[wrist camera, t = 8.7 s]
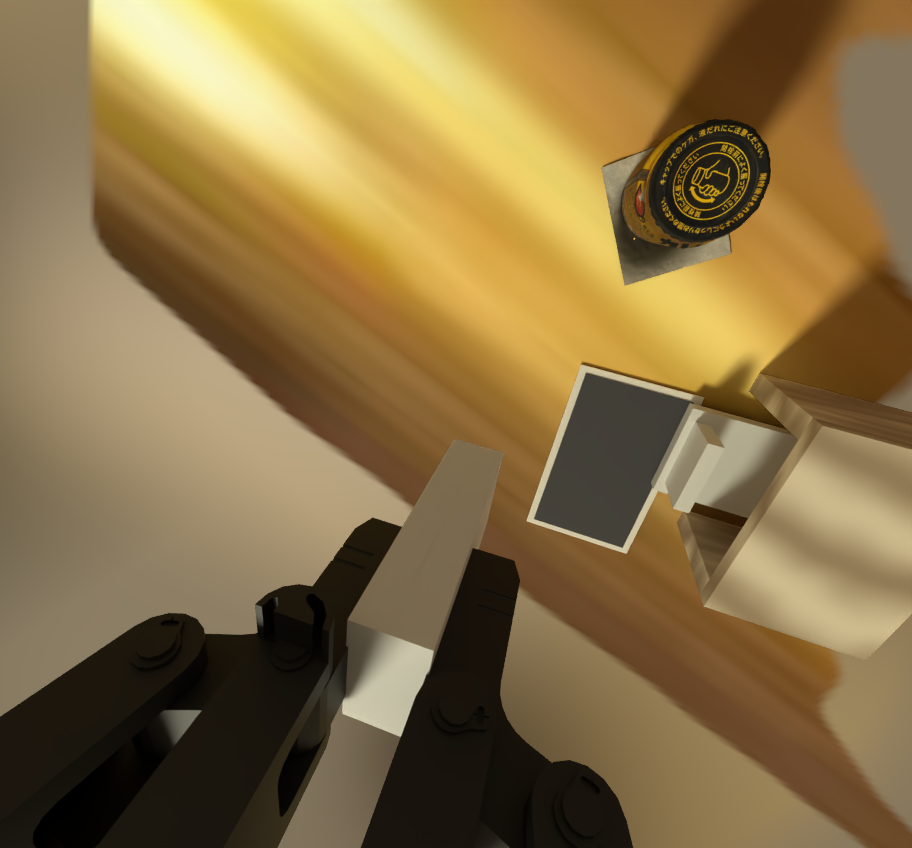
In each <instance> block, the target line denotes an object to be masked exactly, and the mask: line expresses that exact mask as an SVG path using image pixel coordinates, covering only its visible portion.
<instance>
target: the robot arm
mask: <svg viewBox="0 0 912 848" xmlns="http://www.w3.org/2000/svg"><path fill="white" fill-rule="evenodd" d="M503 454H504V452H500V451H496V450H493V449H489V448H485V447H482V446H478V445H474V444H471V443H467V442H464V441H460V440H456V439H454V440H453V442H452V444H451V445H450V447H449V449H448V450H447V452H446V454H445V455H444V457H443V459H442V460H441V462H440V464H439V466H438V467H437V469H436V471H435V472H434V474H433V476H432V477H431V479H430V481H429V483H428V484H427V486H426V488H425V489H424V491H423V493H422V494H421V496H420V498H419V499H418V501H417V503H416V505H415V506H414V508H413V510H412V511H411V513H410V515H409V516H408V518H407V520H406V522H405V523H404V525H403V527H401V526H397V525H394V524H391V523H388V522H385V521H381V520H378V519H375V518H371V519H370V520H368V521H367V522H365V523H363V524H362V525H360V526H358V527H357V528H355V529H354V531H353V532H352V533H351V535H350V536H349V538H348V539H347V540H346V542H345V543H344V545H343V547H341V548H340V550H339V551H338V552H337V554H336V555H335V557H334V559H333V561H331V562H330V563H329V565H328V566H327V568H326V569H325V570H324V571H323V573H322V574H321V576H320V577H319V578H318V580H317V581H316V583H315V584H314V585H313V586H306V585H300V584H298V585H291V586H284V587H281V588H279V589H277V590H274V591H272V592H271V593H268V594H267V595H265V596H264V597H263V598H262V599H261V600H260V601H258V602H257V603H256V604H255V608H256V619H257V628H258V629H257V630H258V633H256V634H247V635H228V634H226V635H225V634H205V633H204V628H203V627H202V625H201V624H200V623H199V621H198V620H197V619H196V618H193V617H191V616H189V615H187V614H178V613H168V614H164V615H160V616H156V617H152V618H150V619H148V620H146V621H144V622H142V623H140V624H138V625H136V626H134V627H133V628H131V629H130V630H128V631H127V632H125V633H124V634H122V635H121V636H119V637H118V638H116V639H115V640H113V641H112V642H110V643H109V644H107V645H106V646H104V647H103V648H101V649H100V650H98V651H97V652H96V653H94V654H93V655H91V656H90V657H88V658H87V659H85V660H84V661H82V662H81V663H79V664H78V665H76V666H75V667H74V668H72V669H70V670H69V671H67V672H66V673H64V674H63V675H61V676H60V677H58V678H57V679H55V680H54V681H53V682H51V683H50V684H48V685H47V686H45V687H44V688H42V689H41V690H39V691H38V692H36V693H35V694H33V695H32V696H30V697H29V698H27V699H26V700H24V701H23V702H21V703H20V704H18V705H17V706H16V707H14V708H13V709H11V710H10V711H8V712H7V713H5V714H4V715H2V716H1V717H0V848H277V847H278V845H279V843H280V841H281V839H282V837H283V835H284V833H285V831H286V829H287V827H288V825H289V823H290V821H291V819H292V816H293V814H294V812H295V810H296V808H297V806H298V804H299V802H300V800H301V798H302V796H303V794H304V792H305V790H306V788H307V786H308V784H309V782H310V779H311V778H312V775H313V773H314V771H315V769H316V767H317V765H318V763H319V761H320V759H321V757H322V755H323V753H324V751H325V749H326V746H327V743H328V739H329V736H330V730H331V723H332V721H333V719H334V717H335V715H336V713H337V711H338V709H339V707H340V705H341V703H342V701H343V709H342V713H343V714H345V715H347V716H350V717H352V718H355V719H358V720H360V721H362V722H365V723H367V724H370V725H372V726H375V727H377V728H380V729H383V730H385V731H387V732H390V733H393V734H395V735H398V736H400V737H401V738H400V741H399V744H398V746H397V749H396V752H395V755H394V758H393V760H392V763H391V766H390V769H389V771H388V774H387V777H386V780H385V782H384V785H383V788H382V791H381V793H380V796H379V799H378V802H377V804H376V807H375V810H374V813H373V816H372V819H371V821H370V824H369V827H368V829H367V832H366V835H365V838H364V841H363V843H362V846H361V848H633V845H632V841H631V837H630V833H629V829H628V825H627V821H626V818H625V816H624V813H623V811H622V808H621V806H620V803H619V800H618V798H617V797H616V795H615V794H614V793H613V791H612V790H611V788H610V787H609V786H608V784H607V783H606V782H605V780H604V779H603V778H602V777H600V776H599V775H598V774H597V773H595V772H594V771H593V770H592V769H590V768H589V767H588V766H586V765H582V764H580V763H577V762H574V761H571V760H567V761H559V762H553V763H551V762H550V761H549V760H548V759H546V758H545V757H544V756H543V755H541V754H540V753H539V752H538V751H536V750H535V749H534V748H533V747H531V746H530V745H529V744H528V743H526V742H525V741H524V740H523V739H522V738H521V737H520V736H519V735H518V734H517V733H516V732H515V730H514V729H513V727H512V726H511V724H510V723H509V721H508V720H507V717H506V715H505V712H504V710H503V707H502V702H501V697H500V687H501V686H500V685H501V679H502V673H503V668H504V663H505V657H506V652H507V647H508V641H509V636H510V631H511V625H512V619H513V615H514V609H515V604H516V599H517V593H518V588H519V583H520V579H519V575H518V572H517V568H516V565H515V562H514V561H513V560H510V559H507V558H503V557H500V556H497V555H494V554H491V553H488V552H484V551H481V550H478V549H479V546H480V543H481V540H482V537H483V533H484V530H485V527H486V524H487V520H488V516H489V512H490V508H491V503H492V499H493V495H494V491H495V487H496V483H497V479H498V475H499V470H500V466H501V462H502V458H503Z"/></svg>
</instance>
